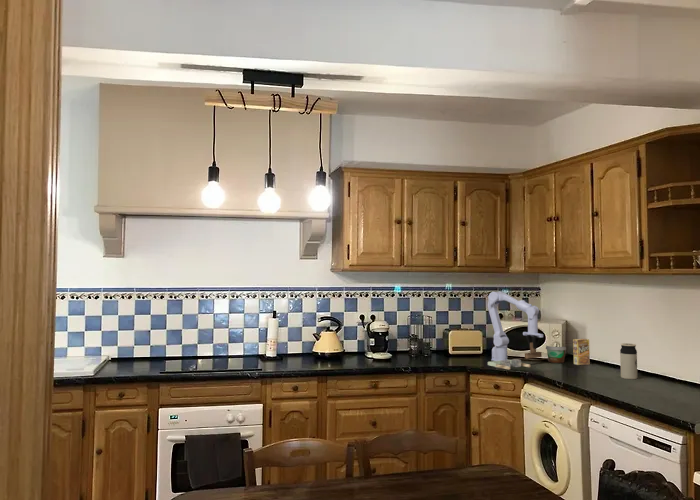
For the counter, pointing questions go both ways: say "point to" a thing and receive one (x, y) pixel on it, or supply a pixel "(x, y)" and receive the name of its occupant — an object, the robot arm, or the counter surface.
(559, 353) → the food container
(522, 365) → the slot rails
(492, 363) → the tray
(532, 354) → the l-shaped wooden block
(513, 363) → the gray cube
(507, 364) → the light grey cube
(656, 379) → the counter surface
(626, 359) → the travel mug
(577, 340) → the candy box
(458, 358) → the counter surface
